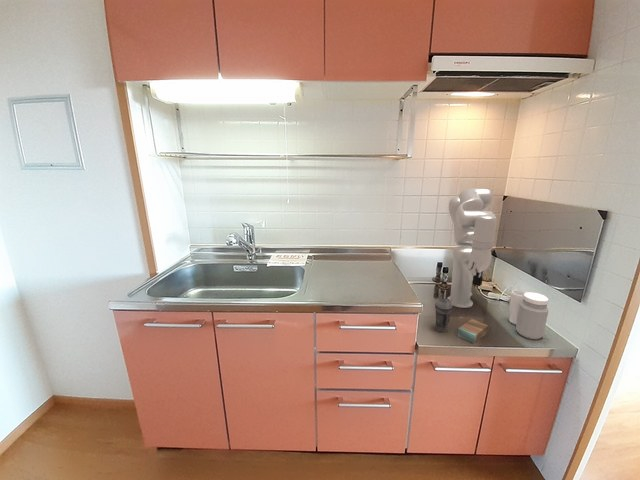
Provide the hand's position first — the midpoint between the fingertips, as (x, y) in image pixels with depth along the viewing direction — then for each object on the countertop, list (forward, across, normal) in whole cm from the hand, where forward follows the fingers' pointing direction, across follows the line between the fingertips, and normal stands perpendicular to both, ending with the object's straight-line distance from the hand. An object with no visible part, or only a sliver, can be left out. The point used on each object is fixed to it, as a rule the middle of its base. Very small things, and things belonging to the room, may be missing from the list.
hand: (476, 284), depth 118 cm
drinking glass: (+23, -21, +11) cm, 33 cm away
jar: (+22, -15, +18) cm, 32 cm away
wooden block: (+20, -2, +2) cm, 20 cm away
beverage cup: (+22, +10, -8) cm, 26 cm away
